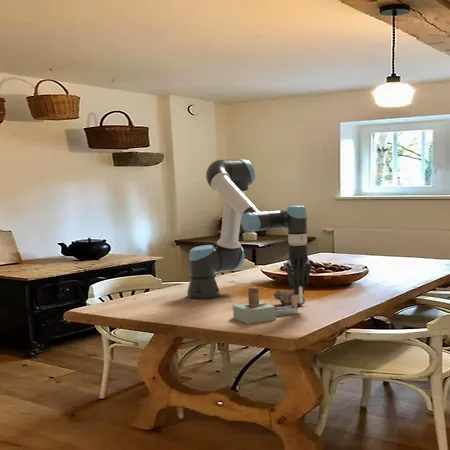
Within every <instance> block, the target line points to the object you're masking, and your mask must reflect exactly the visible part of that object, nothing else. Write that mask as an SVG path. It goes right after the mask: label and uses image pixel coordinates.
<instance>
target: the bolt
mask: <svg viewBox="0 0 450 450" xmlns="http://www.w3.org/2000/svg"><path fill="white" fill-rule="evenodd" d="M291 299H292V306H285V307H284V306H279V307H278V306H277V307H275V310H281V309H287V308H294V307H296V308H297V309H298V305H297V297H296V296H291Z"/></svg>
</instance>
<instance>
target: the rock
mask: <svg viewBox="0 0 450 450" xmlns="http://www.w3.org/2000/svg"><path fill="white" fill-rule="evenodd" d="M291 296H296V295H295V294H294V290H285V289H284V290H282V289H277V290H276V291H275V292H274V294H273V297H274V299H276V300H278V301H280V303H281V304H282V305H284V306H292V299H291ZM305 303H306V299H305V298H304V297H303V303H297V306H302V305H305ZM284 306H283V307H284Z"/></svg>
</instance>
